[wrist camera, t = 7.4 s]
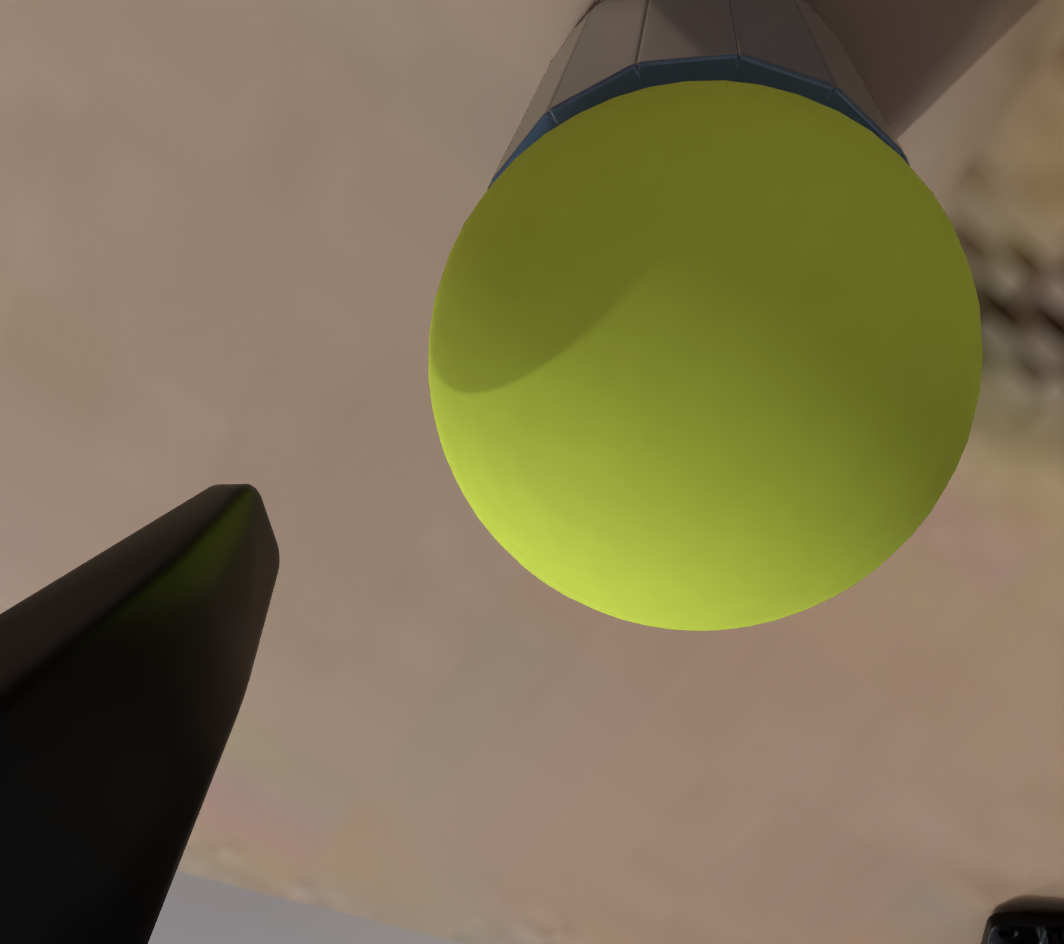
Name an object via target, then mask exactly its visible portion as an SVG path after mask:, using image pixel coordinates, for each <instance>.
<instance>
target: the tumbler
mask: <svg viewBox="0 0 1064 944" xmlns="http://www.w3.org/2000/svg"><path fill="white" fill-rule="evenodd" d="M717 80H725V81H734V82H742V83H751V84H759V85H764V86H768V87H772V88H775V89H779V90H783V91H787V92H791V93H795V94H798V95H800V96H803V97H806V98H808V99H810V100H813V101H815V102H817V103H820V104H822V105H825V106H827V107H829V108H832V109H834V110H836V111H839V112H840V113H842V114H844V115H845V116H847V117H849V118H850V119H852V120H854V121H855V122H857V123H859V124H860V125H862V126H864V127H865V128H867V129H869V130H870V131H872V132H873V133H874V134H875V135H876V136H878V137H879V138H880V139H881V140H882V141H884V142H885V143H886V144H887V145H888V146H890V147H891V148H892V149H893V150H894V151H896V152H897V153H898V154H899V155H900V156H901V157H902V158H903V159H904V161H905V162H906V163H907V164H908V165H909V162H908V159H907V157H906V155H905V153H904V152H903V150H902V148H901V146H900V145H899V143H898V141H897V139H896V138H895V136H894V134H893V132H892V131H891V129H890V127H889V125H888V124H887V122H886V120H885V118H884V117H883V115H882V113H881V112H880V110H879V108H878V106H877V105H876V103H875V101H874V99H873V98H872V96H871V94H870V92H869V91H868V89H867V87H866V85H865V84H864V82H863V80H862V78H861V77H860V75H859V73H858V72H857V70H856V68H855V66H854V65H853V63H852V61H851V59H850V58H849V56H848V54H847V52H846V51H845V49H844V47H843V45H842V44H841V42H840V40H839V39H838V37H837V36H836V34H835V33H834V32H833V31H832V30H831V29H830V28H829V27H828V26H827V25H826V23H825V22H824V21H823V20H822V19H821V17H820V16H819V15H818V14H817V13H816V12H815V10H814V9H813V8H812V7H811V6H810V5H809V4H808V3H807V2H806V1H804V0H602V1H601V2H599V3H598V4H597V5H596V6H595V7H594V8H593V9H592V10H590V11H589V12H588V13H587V14H586V15H585V17H584V18H583V19H582V20H581V21H580V22H579V23H578V25H577V26H576V27H575V28H574V29H573V31H572V32H571V34H570V35H569V37H568V38H567V40H566V41H565V43H564V44H563V46H562V47H561V49H560V50H559V51H558V53H557V54H556V55H555V57H554V58H553V59H552V61H551V62H550V64H549V66H548V68H547V70H546V72H545V74H544V76H543V78H542V80H541V82H540V84H539V86H538V88H537V90H536V92H535V94H534V96H533V98H532V100H531V102H530V104H529V106H528V108H527V110H526V112H525V114H524V116H523V118H522V120H521V122H520V124H519V126H518V128H517V130H516V132H515V134H514V136H513V138H512V140H511V142H510V144H509V146H508V148H507V150H506V152H505V154H504V156H503V158H502V160H501V162H500V164H499V166H498V168H497V170H496V172H495V174H494V176H493V178H492V180H491V182H490V184H489V186H488V189H489V187H490V186H491V185H492V183H493V182H494V181H495V180H496V179H497V178H498V177H499V176H500V175H501V174H502V173H503V171H504V170H505V169H506V168H507V167H508V166H509V165H510V164H511V163H512V162H513V161H514V159H515V158H516V157H518V156H519V155H520V154H521V153H522V152H524V151H525V150H526V149H527V148H528V147H530V146H531V145H532V144H533V143H535V142H536V141H537V140H538V139H539V138H541V137H542V136H543V135H544V134H546V133H548V132H549V131H551V130H552V129H554V128H556V127H557V126H559V125H560V124H562V123H564V122H565V121H567V120H569V119H570V118H572V117H573V116H575V115H577V114H579V113H581V112H583V111H585V110H587V109H590V108H592V107H594V106H596V105H599V104H601V103H603V102H605V101H607V100H610V99H612V98H614V97H617V96H621V95H624V94H627V93H631V92H634V91H637V90H641V89H644V88H648V87H652V86H658V85H665V84H671V83H678V82H684V81H717ZM909 166H910V165H909ZM488 189H487V190H488Z"/></svg>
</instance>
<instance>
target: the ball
mask: <svg viewBox="0 0 1064 944" xmlns="http://www.w3.org/2000/svg"><path fill="white" fill-rule="evenodd" d="M982 362H983V352H982V335H981V320H980V306H979V302H978V297H977V293H976V289H975V285H974V281H973V276H972V272H971V270H970V267H969V264H968V262H967V259H966V256H965V254H964V251H963V249H962V247H961V244H960V242H959V240H958V237H957V235H956V232H955V230H954V228H953V225H952V223H951V221H950V220H949V218H948V217H947V215H946V213H945V212H944V210H943V209H942V207H941V205H940V204H939V202H938V201H937V199H936V197H935V196H934V194H933V193H932V192H931V190H930V189H929V188H928V187H927V186H926V185H925V183H924V182H923V181H922V180H921V179H920V178H919V177H918V175H917V174H916V173H915V172H914V171H913V170H912V169H911V167H910V166H909V165H908V164H907V163H906V162H905V161H904V159H903V158H902V157H901V156H900V155H899V154H898V153H897V152H896V151H894V150H893V149H892V148H891V147H890V146H888V145H887V144H886V143H885V142H884V141H882V140H881V139H880V138H879V137H878V136H876V135H875V134H874V133H873V132H872V131H870V130H869V129H867V128H865V127H864V126H862V125H860V124H859V123H857V122H855V121H854V120H852V119H850V118H849V117H847V116H845V115H844V114H842V113H840V112H839V111H836V110H834V109H832V108H829V107H827V106H825V105H822V104H820V103H817V102H815V101H813V100H810V99H808V98H806V97H803V96H800V95H798V94H795V93H791V92H787V91H783V90H779V89H775V88H772V87H768V86H764V85H759V84H751V83H742V82H734V81H725V80H717V81H684V82H678V83H671V84H665V85H658V86H652V87H648V88H644V89H641V90H637V91H634V92H631V93H627V94H624V95H621V96H617V97H614V98H612V99H610V100H607V101H605V102H603V103H601V104H599V105H596V106H594V107H592V108H590V109H587V110H585V111H583V112H581V113H579V114H577V115H575V116H573V117H572V118H570V119H569V120H567V121H565V122H564V123H562V124H560V125H559V126H557V127H556V128H554V129H552V130H551V131H549V132H548V133H546V134H544V135H543V136H542V137H541V138H539V139H538V140H537V141H536V142H535V143H533V144H532V145H531V146H530V147H528V148H527V149H526V150H525V151H524V152H522V153H521V154H520V155H519V156H518V157H516V158H515V159H514V161H513V162H512V163H511V164H510V165H509V166H508V167H507V168H506V169H505V170H504V171H503V173H502V174H501V175H500V176H499V177H498V178H497V179H496V180H495V181H494V182H493V183H492V185H491V186H490V187H489V189H488V190H487V192H486V193H485V194H484V196H483V197H482V199H481V200H480V201H479V203H478V204H477V206H476V207H475V209H474V210H473V212H472V213H471V215H470V216H469V218H468V219H467V220H466V222H465V224H464V226H463V228H462V230H461V232H460V234H459V236H458V238H457V240H456V242H455V244H454V246H453V248H452V250H451V252H450V255H449V258H448V261H447V264H446V266H445V269H444V273H443V276H442V279H441V282H440V285H439V288H438V291H437V294H436V297H435V302H434V308H433V314H432V320H431V326H430V336H429V372H428V378H429V386H430V394H431V402H432V408H433V413H434V418H435V422H436V426H437V430H438V434H439V437H440V441H441V444H442V448H443V452H444V454H445V456H446V458H447V461H448V463H449V465H450V468H451V470H452V472H453V475H454V477H455V479H456V481H457V483H458V485H459V487H460V489H461V491H462V492H463V494H464V496H465V497H466V499H467V501H468V502H469V504H470V506H471V507H472V509H473V511H474V512H475V514H476V516H477V517H478V518H479V519H480V521H481V522H482V523H483V524H484V526H485V527H486V528H487V529H488V531H489V532H490V533H491V534H492V536H493V537H494V538H495V539H496V540H497V541H498V542H499V543H500V544H501V545H502V546H503V547H504V548H505V549H506V550H507V551H508V552H509V553H510V554H511V555H512V556H513V557H514V558H515V559H516V560H517V561H518V562H519V563H520V564H521V565H522V566H523V567H525V568H526V569H527V570H528V571H530V572H531V573H532V574H534V575H535V576H536V577H537V578H539V579H540V580H541V581H543V582H544V583H546V584H547V585H549V586H551V587H552V588H554V589H556V590H557V591H559V592H561V593H562V594H564V595H565V596H568V597H570V598H572V599H574V600H576V601H578V602H580V603H582V604H584V605H586V606H588V607H591V608H593V609H595V610H597V611H600V612H602V613H605V614H608V615H611V616H614V617H616V618H619V619H622V620H626V621H630V622H634V623H638V624H642V625H647V626H653V627H660V628H666V629H676V630H693V631H703V630H725V629H733V628H741V627H748V626H753V625H757V624H761V623H766V622H770V621H774V620H777V619H780V618H783V617H786V616H789V615H792V614H795V613H798V612H801V611H803V610H806V609H808V608H810V607H813V606H815V605H817V604H819V603H821V602H824V601H826V600H828V599H830V598H832V597H834V596H836V595H838V594H839V593H841V592H843V591H844V590H846V589H848V588H850V587H851V586H853V585H855V584H856V583H858V582H859V581H861V580H862V579H863V578H865V577H866V576H867V575H868V574H870V573H871V572H872V571H874V570H875V569H876V568H878V567H879V566H880V565H881V564H882V563H883V562H884V561H886V560H887V559H888V558H889V557H890V556H891V555H892V554H893V553H894V552H895V551H896V550H897V549H898V548H899V547H900V546H901V545H902V544H903V543H904V542H905V541H906V540H907V539H908V538H909V537H911V536H912V535H913V533H914V532H915V531H916V530H917V528H918V527H919V526H920V525H921V523H922V522H923V521H924V520H925V518H926V517H927V516H928V515H929V513H930V512H931V511H932V509H933V507H934V506H935V504H936V502H937V501H938V499H939V497H940V496H941V494H942V492H943V491H944V489H945V487H946V486H947V484H948V482H949V480H950V479H951V477H952V475H953V473H954V471H955V470H956V467H957V465H958V463H959V460H960V458H961V455H962V453H963V451H964V448H965V446H966V443H967V441H968V437H969V433H970V429H971V425H972V422H973V418H974V414H975V410H976V405H977V401H978V397H979V393H980V384H981V373H982Z"/></svg>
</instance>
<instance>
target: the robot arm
mask: <svg viewBox="0 0 1064 944" xmlns="http://www.w3.org/2000/svg"><path fill="white" fill-rule="evenodd" d="M278 569H279V549H278V545H277V542H276V539H275V536H274V533H273V530H272V527H271V524H270V521H269V518H268V516H267V513H266V510H265V507H264V504H263V501H262V498H261V496H260V494H259V492H258V491H257V489H256V488H254V487H253V486H251V485H249V484H221V485H214V486H211V487H209V488H207V489H206V490H204V491H203V492H201V493H199V494H198V495H196V496H194V497H193V498H191V499H189V500H188V501H186V502H184V503H183V504H181V505H179V506H178V507H176V508H175V509H173V510H171V511H170V512H168V513H166V514H165V515H163V516H161V517H160V518H158V519H156V520H155V521H153V522H151V523H150V524H148V525H147V526H145V527H143V528H142V529H140V530H138V531H137V532H135V533H133V534H132V535H130V536H128V537H127V538H125V539H123V540H122V541H120V542H119V543H117V544H115V545H114V546H112V547H110V548H109V549H107V550H105V551H104V552H102V553H100V554H99V555H97V556H95V557H94V558H92V559H91V560H89V561H87V562H86V563H84V564H82V565H81V566H79V567H77V568H76V569H74V570H72V571H71V572H69V573H67V574H66V575H64V576H63V577H61V578H59V579H58V580H56V581H54V582H53V583H51V584H49V585H48V586H46V587H44V588H43V589H41V590H39V591H38V592H36V593H35V594H33V595H31V596H30V597H28V598H26V599H25V600H23V601H21V602H20V603H18V604H16V605H15V606H13V607H11V608H10V609H8V610H7V611H5V612H3V613H2V614H0V944H148V941H149V939H150V936H151V934H152V931H153V929H154V926H155V923H156V921H157V918H158V916H159V913H160V911H161V908H162V906H163V903H164V901H165V898H166V896H167V893H168V890H169V888H170V885H171V883H172V880H173V877H174V875H175V873H176V870H177V868H178V865H179V862H180V860H181V857H182V855H183V852H184V850H185V847H186V845H187V842H188V840H189V837H190V834H191V832H192V829H193V827H194V824H195V822H196V819H197V817H198V814H199V812H200V809H201V806H202V804H203V801H204V799H205V796H206V794H207V791H208V789H209V786H210V784H211V781H212V778H213V776H214V773H215V771H216V768H217V766H218V763H219V761H220V758H221V756H222V753H223V750H224V748H225V745H226V743H227V740H228V738H229V735H230V733H231V730H232V728H233V725H234V723H235V720H236V717H237V715H238V712H239V709H240V706H241V704H242V701H243V698H244V695H245V692H246V688H247V685H248V682H249V679H250V675H251V671H252V668H253V664H254V660H255V656H256V653H257V649H258V645H259V641H260V638H261V634H262V630H263V626H264V623H265V619H266V615H267V611H268V608H269V604H270V600H271V596H272V592H273V589H274V585H275V581H276V577H277V574H278ZM981 944H1064V916H1059V915H1042V914H1025V913H1007V912H1006V913H997V914H994V915H992V916H991V917H989V919H988V920H987V924H986V927H985V931H984V935H983V938H982V942H981Z"/></svg>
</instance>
